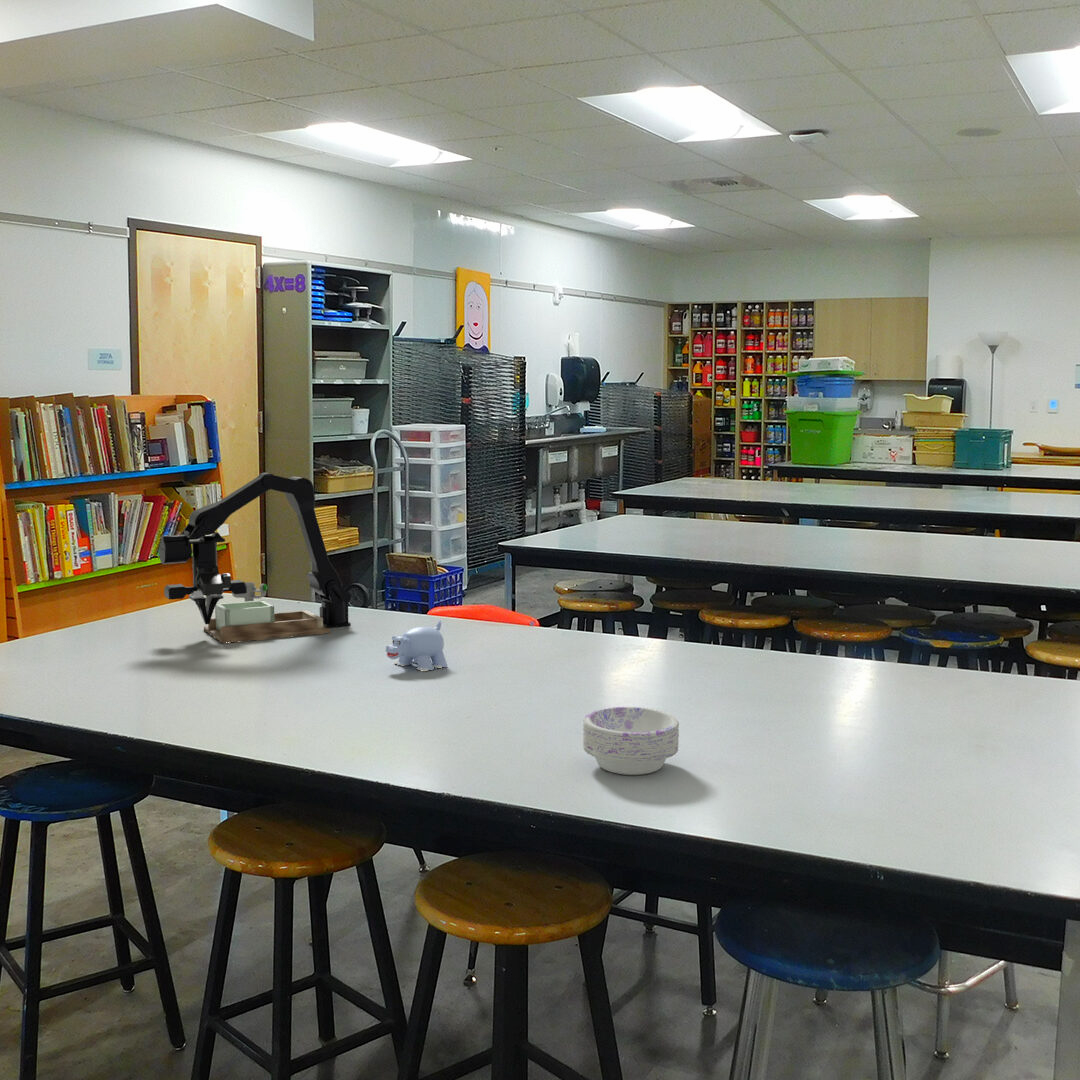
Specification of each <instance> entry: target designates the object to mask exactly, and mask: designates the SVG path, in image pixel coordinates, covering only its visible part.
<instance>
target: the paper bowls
mask: <svg viewBox="0 0 1080 1080" xmlns="http://www.w3.org/2000/svg"><path fill="white" fill-rule="evenodd" d="M582 721H583V725H582V727H583V728H582V730H583V731H582V732H583V733H582V737H583V738H582V747H583V750H584V752H585V753H587V754H588V755H589V756H592V757H594V758H595V761H596V763H597V765H599V767H600V768H602V769H603V770H604V771H606V772H610V773H612V774H617V775H625V776H639V775H640V776H641V775H646V774H652V773H655V772H657V771H658V770H660V769H661V768H662V767H663V765H664V764H665V762H666V760H667V759H669V758H671V757H674V756H675V755H676V754H677V753H678V751H679V735H680V732H679V731H680V730H679V728H680V727H679V726H680V723H679V720H678V719H677V718H676V716H673V715H672V714H670V713H668V712H666V711H662V710H658V709H654V708H648V707H640V706H639V707H638V706H615V707H614V706H613V707H606V708H600V709H596V710H593V711H591V712H589V713H587V714H586V715H585V716H584V718H583V720H582Z"/></svg>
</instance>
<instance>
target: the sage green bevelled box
mask: <svg viewBox="0 0 1080 1080" xmlns="http://www.w3.org/2000/svg"><path fill="white" fill-rule="evenodd" d="M214 610H215V611H214V612H215V613H214V614H215V617H214V618H216V628H217V629H218V630H220V627H222V626H233V625H244V624H256V623H267V622H275V620H274V613H275V606H274V605H272V604H271V603H269V602H267V601H265V600H254V601H248V602H245V601H237V602H225V603H222V602H221V603H217V604H216V606H215V608H214Z"/></svg>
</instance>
